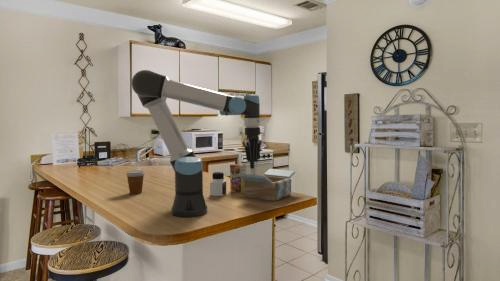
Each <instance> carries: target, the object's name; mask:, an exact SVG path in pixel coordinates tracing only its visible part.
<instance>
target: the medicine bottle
mask: <svg viewBox="0 0 500 281" xmlns="http://www.w3.org/2000/svg"><path fill="white" fill-rule="evenodd" d="M224 176H225V175H224V172H222V171H215V172H213V173H212V181H210V182H209V196H213V197H223V196H225V195H226V194H227V180H224V179H225V178H224Z"/></svg>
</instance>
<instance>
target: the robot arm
mask: <svg viewBox="0 0 500 281" xmlns="http://www.w3.org/2000/svg"><path fill="white" fill-rule="evenodd" d="M131 88H132V90H133V91H134V93H135V94H136V95H137V97H138V99H139V101H140V103H141V106H142V107H143V108H145V109H147V110H148V112H149V114H150V116H151V118H152V119H153V122H154V124H155V126H156V128H157V131H158V132H159V134H160V137H161V138H162V141H163V143H164V145H165V147H166V149H167V151H168V153H169V155H170V158H169V163H170V165H171V167H172V169H173V171H174V180H175V181H174V184H175V185H174V189H175V191H174V193H175V195H174V199H173V203H172V206H171V215H172V216H174V217H175V216H176V217H179V218H189V217H190V218H192V217H199V216H202V215H205V214H206V213H208V206H207V204H206V200H205V197H204V190H203V189H204V185H203V184H204V182H203V178H204V177H203V176H204V174H203V168H204V165H203V160H202V158H200V157H197V156H196V155H195V152H194V150H193V149H190V148H188V146H187V143H186V142H185V139H184V137H183V135H182V133H181V131H180V129H179V127H178V125H177V122H176V120H175V117H174V116H173V114H172V112H171V110H170V108H169V105H168V103H167V98H168V99H172V100H176V101H180V102H182V103H187V104H191V105H196V106H199V107H204V108H208V109H212V110H214V111H215V110H216V111H219V114H220V116H243V118H244V120H243V121H244V126H243V127H244V135H245V136H246V138H245V139H246V140H245V141H243V143H242V144H243V146H244V151H245V155H246V156H245V157H246V161H247V162H249V168H250V175H257V172H258V171H257V163H258V162H259V161H260V156H261V155H260V154H261V148H262V147H261V146H262V142H263V141H262V140H261V139H260V137H259V136H260V135H261V127H260V125H261V120H260V119H261V118H260V117H261V116H260V112H261V111H260V109H261V108H260V106H261V103H260V96H259V95H258V94H245V95H244V96H243V97H240V96H233V95H229V94H225V93H222V92H217V91H214V90H210V89H207V88H202V87H198V86H194V85H192V84H187V83H184V82H181V81H176V80H173V79H169V77H168V76H167V75H163V74H159V73H157V72H154V71H152V70H150V69H149V70H148V69H142V70H139V71H137V72H135V73H134V75H133V76H132V78H131Z"/></svg>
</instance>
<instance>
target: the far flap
mask: <svg viewBox="0 0 500 281" xmlns="http://www.w3.org/2000/svg"><path fill="white" fill-rule="evenodd" d="M295 174H296V171H295V170H288V169H287V170H286V169H276V168H269V169H268V170H266V171H265V172H264V173H263V176H273V177H282V178H290V179H291V178H292V176H294V175H295Z"/></svg>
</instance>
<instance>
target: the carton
mask: <svg viewBox="0 0 500 281" xmlns="http://www.w3.org/2000/svg"><path fill="white" fill-rule="evenodd" d="M260 176H264V174H262V175H260ZM266 177H268V178H269V179H270V180H272V181H273V182H272V183H263V182H255V181H247V180H245V193H244V196H245V197H247V198H252V199H259V200H265V201H270V202H277V201H278V200H282V199H284V198H286V197H289V196H291V193H292V179H291V178H282V177H273V176H266Z"/></svg>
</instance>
